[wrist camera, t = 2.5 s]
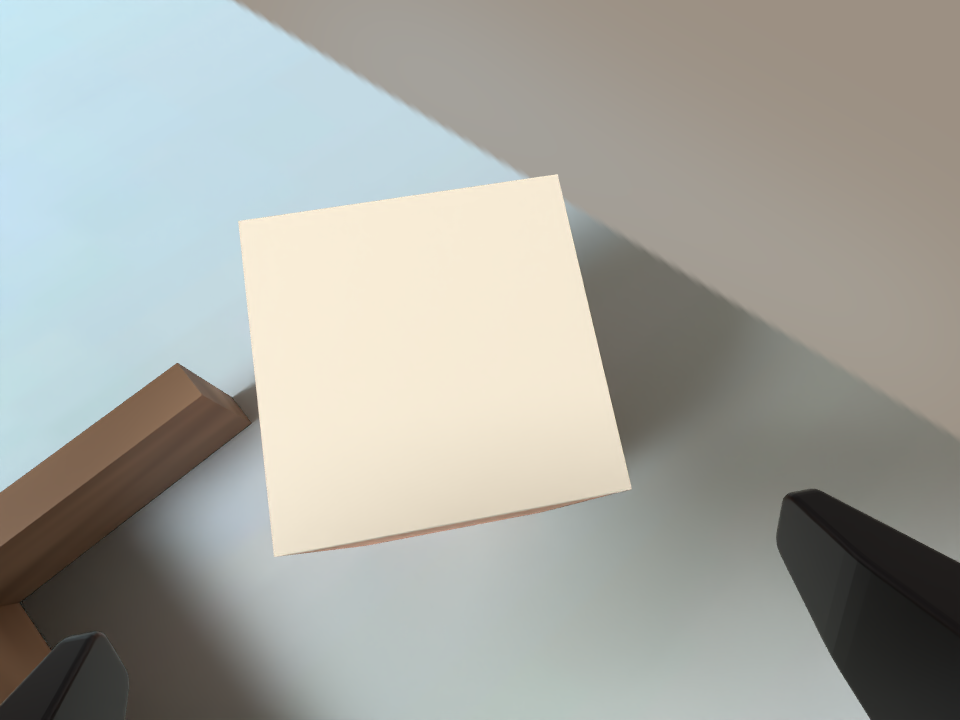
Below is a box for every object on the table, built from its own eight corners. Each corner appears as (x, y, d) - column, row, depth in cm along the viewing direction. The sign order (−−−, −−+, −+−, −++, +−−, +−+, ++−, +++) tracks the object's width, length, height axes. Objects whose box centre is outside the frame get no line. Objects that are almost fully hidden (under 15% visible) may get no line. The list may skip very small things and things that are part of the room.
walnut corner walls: (489, 726, 18) (499, 779, 14) (218, 986, 16) (144, 1129, 12) (231, 396, 20) (177, 363, 16) (-35, 598, 18) (-169, 615, 14)
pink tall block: (540, 512, 19) (631, 489, 10) (365, 545, 19) (274, 557, 9) (506, 345, 20) (557, 174, 11) (341, 373, 20) (238, 221, 10)
